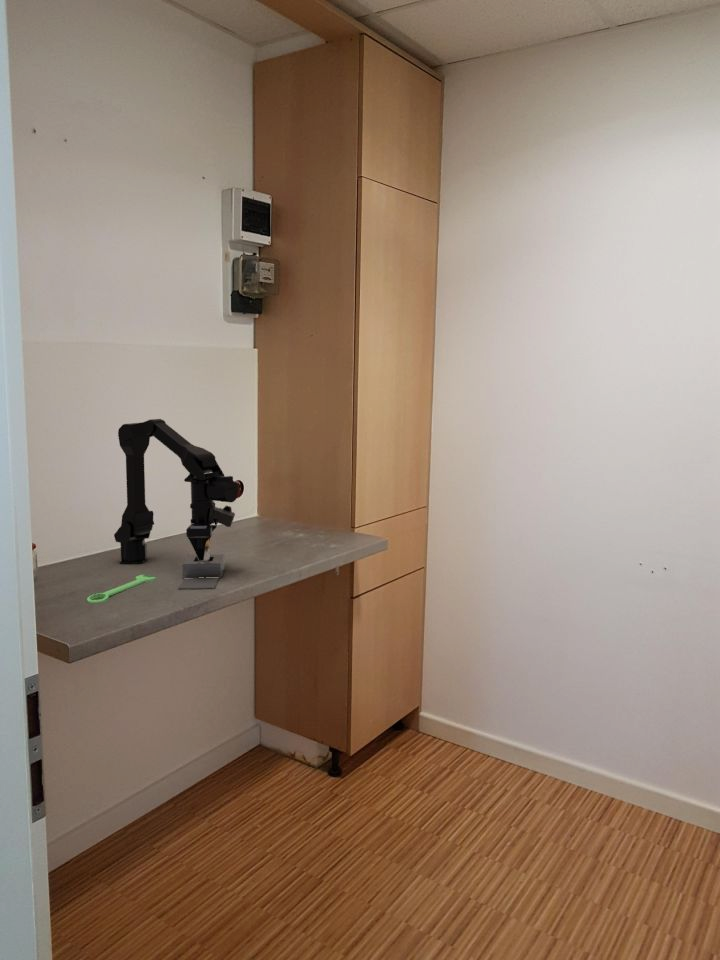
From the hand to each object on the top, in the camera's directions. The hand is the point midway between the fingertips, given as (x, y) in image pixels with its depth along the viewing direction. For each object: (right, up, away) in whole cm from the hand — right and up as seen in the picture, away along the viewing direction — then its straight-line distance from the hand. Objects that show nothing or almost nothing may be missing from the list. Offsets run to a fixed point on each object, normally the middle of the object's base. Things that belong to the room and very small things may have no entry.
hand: (203, 556), depth 215 cm
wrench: (-17, -8, -14) cm, 24 cm away
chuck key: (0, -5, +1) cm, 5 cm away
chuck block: (0, -5, +1) cm, 5 cm away
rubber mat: (+1, -6, -10) cm, 12 cm away
